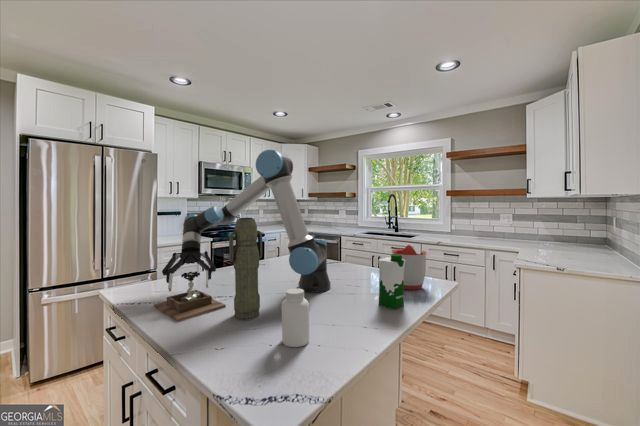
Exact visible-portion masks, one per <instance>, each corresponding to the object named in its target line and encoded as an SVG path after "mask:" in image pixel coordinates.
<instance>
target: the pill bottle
mask: <svg viewBox="0 0 640 426" xmlns="http://www.w3.org/2000/svg"><path fill="white" fill-rule="evenodd" d="M281 333H282V334H281V335H282V339H281V340H282V343H283V345H284V346H285V347H288V348H289V347H290V348H301V347H304V346H306V345H307V344H308V343H309V342H310V305H309V301H308V299H306V298H305V291H304V290H303V289H299V288H298V287H297V288H289V289H287V290H286V291H285V299H284V300H283V301H282V303H281Z"/></svg>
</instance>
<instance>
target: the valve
mask: <svg viewBox="0 0 640 426" xmlns="http://www.w3.org/2000/svg"><path fill="white" fill-rule="evenodd" d="M199 276H201V272H198V271H194V272H193V271H189V272H183V273H182V274H181V276H180V277H181V278H183V279H185V280H187V281H188V288H187V290H186V292H187V293H188V295H187V296H185V297H183V298H182V300H181V302H182V303H184V302H188V301H192V300H196V299H199V298H201V294H200V293H199V292H195V290H196V288H195V287H194V285H195V283H194V282H193V281H194V280H195V278H198V277H199ZM194 292H195V293H194Z"/></svg>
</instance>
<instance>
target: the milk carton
mask: <svg viewBox="0 0 640 426" xmlns="http://www.w3.org/2000/svg"><path fill="white" fill-rule="evenodd" d="M377 263H378V268H379V270H378V272H379V274H378V276H379V278H378V280H379V281H378V282H379V283H378V286H379V287H378V288H379V289H378V291H379V292H378V306H381V307H385V308H388V309H391V310H396V309H399V308H400V307H403V306H404V305H405V299H404V298H405V297H404V296H405V295H404V290H405V289H404V267H405V260H403V259H402V255H399V254H392V253H391V254H390V256H388V257H384V258H381V259H377Z"/></svg>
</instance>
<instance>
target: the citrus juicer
mask: <svg viewBox="0 0 640 426" xmlns="http://www.w3.org/2000/svg"><path fill="white" fill-rule="evenodd" d="M391 252H392V253H391V255H392V254H399V255H402V259H403V260H405V267H404V290H407V291H412V290H414V291H415V290H419V289H421V288H422V287H423V285H424V281H425V278H426V272H427V271H426V266H427V265H426V264H427V257H426V256H427V255H426V254H427V251H425V250H422V251H420V253H417V252H416V250H415V249H414V248H413V246H411V245H410V244H408V245H406V246H405V247H404V248H394V249H392V250H391Z"/></svg>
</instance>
